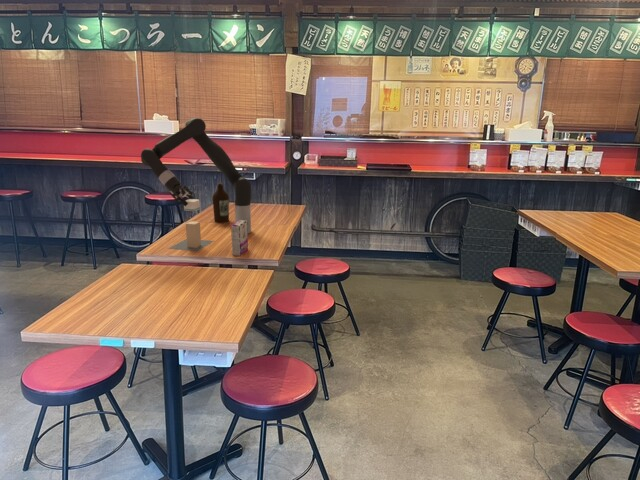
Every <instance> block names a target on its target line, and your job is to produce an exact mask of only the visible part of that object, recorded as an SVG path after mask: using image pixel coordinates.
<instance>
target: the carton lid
mask: <svg viewBox="0 0 640 480" xmlns="http://www.w3.org/2000/svg"><path fill="white" fill-rule="evenodd" d="M185 201H186V202H187V203H188V204H187V205H186V206H184V205H183V211H185V212H186V211H187V212H188V211H189V212H196V211H198V210H201V205H200V199H197V198H196V199H195V198H194V199H189V198H187V199H185Z"/></svg>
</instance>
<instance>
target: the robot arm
mask: <svg viewBox="0 0 640 480" xmlns="http://www.w3.org/2000/svg"><path fill="white" fill-rule="evenodd" d="M206 128H207V126H206V122H205V121H204V119H202V118H199V117H195V118H194V117H193V118H190V119H188V120H187V121H186V122H185V124H184V127H183V128H182V129H179V130H178V131H177V132H175V133H172V134H171V135H169V136H167V137H165V138H164V139H162V140H160V141H159V142H157V143H156V144H155V145H154V147H152V149H151V148H144V149H143V150H142V151H141V153H140V160H141V163H142V165H143V166H145V167H150V169H151V171H152V173H153V174H154V175H155V176H156V178H157V179H158V180H159V181H160V182H161V184H162V185H163V186H164V188H166V189H167V190H168V191H169V194H170V195H171V197H172V198H173V199H174V200H175V202H180V203H181V204H182V205H183V207H184V206H186V205H187V204H188V203H187V202H186V201H185V200H186V199H185V198H183V197H186V198H187V199H195V197H194V196H193V192H192V191H191V190H190V189H189V187H187V186H186V185H183V186H182V185H181V184H182V183H181V182H182V181H180V180H179V179H178V178H177V176H176V175H175V173H173V172H172V171H171V170H170V169H169V168H168V167H167V166H166V165H165V164H164V163H163V162H162V160H161V159H162V158H163V157H164V156H165V155H167V154H168V153H170V152H172V151H173V150H174V149H176V148H177V147H179V146H180V145H182V144H183V143H185V142H187V141H189V140H190V139H193V140H194V141H195V142H196V143H197V144H198V146H200V148H201V149H202V151H203V152H204V154H206V156H207V157H208V158H209V159H210V160H211V162H212V163H213V164H214V166H216V168H217V169H218V170H219V171H220V172H221V173H222V174H223V175H224V176H225V177H226V178H227V180H228V181H229V183H230V184H231V186H232V187H233V189H234V190H235V199H234V219H235V220H234V223H235V222H237V221H238V220H245V221H247V235H248V234H249V235H250V234H251V233H252V212H251V210H252V209H251V201H252V185H251V184H252V183H251V181H250V180H248V179H247V178H246V177H244V176H243V175H242V174H241V173H240V172H239V171H238V170H237V168H236V167H235V165H234V164H233V161H232V159H231V158H230V157H229V155H228V154H227V152H226V151H225V149H223V147H222V146H220V145H219V144H218V143H217V142H215V141H214V140H213V139H212V138H210V136H208V134H207V132H206Z"/></svg>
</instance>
